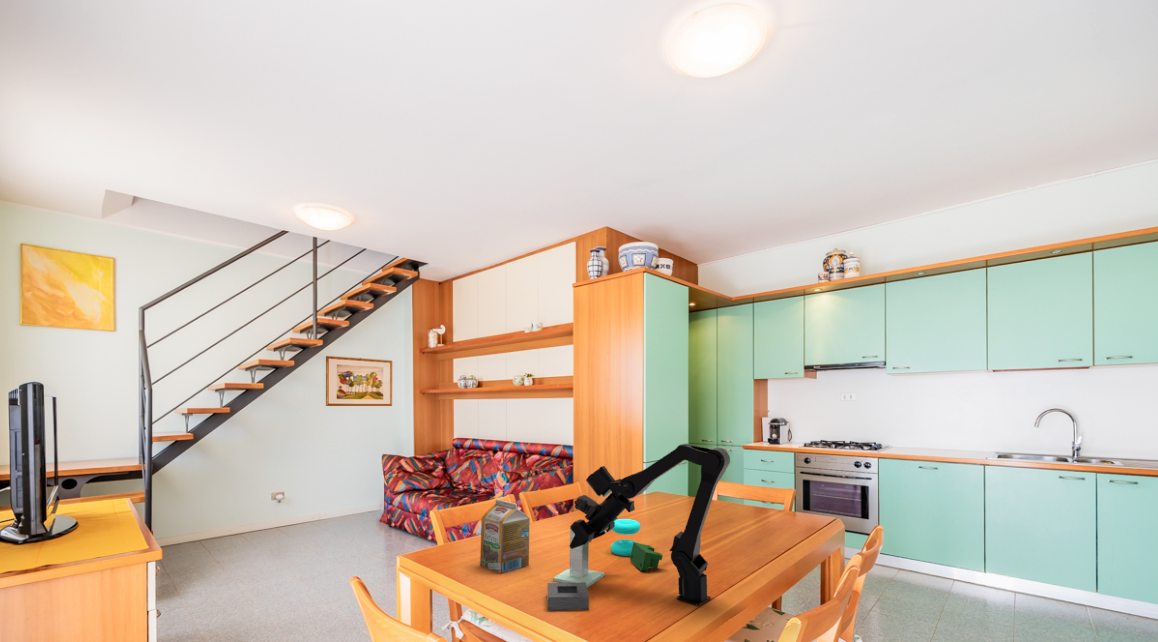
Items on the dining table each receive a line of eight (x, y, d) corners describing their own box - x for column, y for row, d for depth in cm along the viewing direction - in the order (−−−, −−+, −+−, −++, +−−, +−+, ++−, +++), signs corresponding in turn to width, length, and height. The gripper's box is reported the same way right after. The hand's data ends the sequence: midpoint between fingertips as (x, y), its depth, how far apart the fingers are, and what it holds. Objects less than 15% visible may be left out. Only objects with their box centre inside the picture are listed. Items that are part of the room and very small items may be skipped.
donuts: (621, 526, 170) (605, 519, 178) (621, 558, 168) (605, 550, 177) (646, 523, 174) (629, 517, 183) (646, 554, 173) (629, 547, 182)
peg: (588, 574, 151) (588, 527, 153) (581, 578, 148) (582, 530, 149) (576, 572, 153) (576, 525, 155) (569, 576, 149) (570, 528, 151)
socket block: (585, 594, 138) (585, 582, 138) (588, 609, 128) (588, 596, 128) (547, 595, 137) (547, 583, 138) (547, 610, 127) (547, 597, 128)
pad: (604, 575, 152) (604, 572, 153) (587, 587, 143) (587, 584, 143) (571, 569, 157) (571, 566, 158) (552, 580, 148) (553, 577, 148)
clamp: (655, 585, 157) (665, 560, 155) (636, 581, 156) (647, 556, 154) (645, 558, 169) (655, 534, 167) (628, 554, 168) (638, 530, 166)
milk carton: (480, 565, 161) (482, 501, 163) (507, 558, 168) (509, 497, 171) (500, 574, 153) (502, 506, 156) (528, 566, 161) (529, 501, 163)
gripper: (605, 482, 160) (573, 516, 164) (576, 491, 144) (541, 529, 147) (629, 511, 155) (595, 546, 159) (602, 525, 139) (566, 563, 143)
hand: (575, 545), depth 152 cm, fingers open, 5 cm apart
